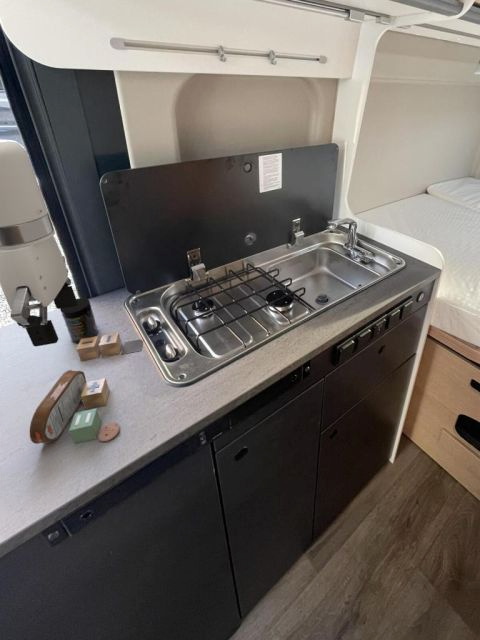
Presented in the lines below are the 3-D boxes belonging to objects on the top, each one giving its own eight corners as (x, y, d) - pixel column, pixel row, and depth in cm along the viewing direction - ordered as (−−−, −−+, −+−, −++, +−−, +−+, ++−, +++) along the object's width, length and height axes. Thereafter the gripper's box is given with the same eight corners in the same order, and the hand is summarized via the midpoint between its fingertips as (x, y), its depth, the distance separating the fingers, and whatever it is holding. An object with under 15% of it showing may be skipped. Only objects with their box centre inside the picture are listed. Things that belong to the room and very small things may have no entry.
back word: (80, 362, 84) (75, 350, 82) (85, 349, 88) (81, 337, 86) (141, 351, 87) (138, 339, 86) (143, 339, 92) (140, 327, 90)
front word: (85, 409, 71) (80, 396, 70) (90, 394, 75) (85, 381, 73) (105, 405, 72) (101, 392, 71) (109, 390, 76) (105, 377, 74)
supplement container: (100, 337, 92) (90, 307, 87) (71, 347, 88) (60, 316, 84) (97, 324, 97) (88, 295, 92) (70, 333, 93) (60, 303, 89)
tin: (78, 388, 76) (68, 361, 73) (92, 388, 76) (83, 361, 73) (35, 453, 63) (20, 424, 59) (53, 452, 63) (39, 423, 59)
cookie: (119, 420, 69) (118, 417, 69) (120, 437, 66) (119, 433, 65) (98, 428, 67) (97, 425, 67) (98, 445, 64) (96, 442, 64)
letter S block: (74, 444, 64) (68, 430, 63) (80, 426, 68) (74, 412, 66) (96, 438, 66) (91, 425, 64) (101, 421, 69) (96, 407, 67)
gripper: (17, 212, 54) (51, 298, 61) (-50, 260, 39) (5, 367, 46) (69, 208, 56) (96, 292, 63) (24, 251, 41) (66, 355, 48)
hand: (58, 323), depth 54 cm, fingers open, 9 cm apart
